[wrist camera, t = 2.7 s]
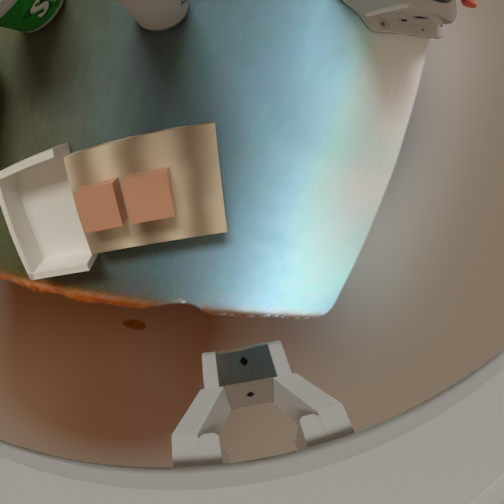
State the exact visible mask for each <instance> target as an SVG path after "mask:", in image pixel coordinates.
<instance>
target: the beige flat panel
mask: <svg viewBox="0 0 504 504" xmlns="http://www.w3.org/2000/svg"><path fill="white" fill-rule="evenodd" d="M63 158H64V163H65V167H66V172H67V176H68V180H69V184H70V188H71V191H72V195H73V193H74V192H75V191H76V190H77V189H78V188H80V187H81V186H84V185H88V184H91V183H95V182H99V181H103V180H107V179H111V178H116V177H118V178H119V182H120V187H121V191H122V195H123V200H124V204H125V208H126V212H127V215H128V218H127V220H126V221H125V223H124V225H123V226H120V227H115V228H110V229H105V230H100V231H95V232H90V233H86V234H85V231H84V228H83V225H82V222H81V219H80V216H79V213H78V216H79V219H80V222H81V225H82V228H83V231H84V234H85V237H86V240H87V243H88V245H89V248H90V251H91V254H96V253H101V252H107V251H112V250H118V249H124V248H130V247H136V246H142V245H148V244H154V243H160V242H166V241H172V240H178V239H185V238H191V237H197V236H204V235H211V234H217V233H224V232H227V225H226V216H225V208H224V200H223V191H222V183H221V174H220V165H219V156H218V146H217V137H216V127H215V123H214V122H208V123H201V124H194V125H187V126H181V127H175V128H169V129H164V130H159V131H154V132H149V133H144V134H140V135H135V136H131V137H127V138H123V139H119V140H115V141H111V142H107V143H103V144H100V145H96V146H93V147H89V148H86V149H83V150H80V151H76V152H73V153H71V154H69V155H67V156H65V157H63ZM164 167H169V170H170V176H171V181H172V187H173V193H174V198H175V204H176V213H175V217H170V218H164V219H159V220H153V221H147V222H142V223H136V224H131V222H130V218H129V214H128V210H127V206H126V202H125V198H124V194H123V190H122V185H121V180H122V179H123V178H124V177H125V176H126V175H129V174H134V173H138V172H143V171H148V170H153V169H158V168H164ZM73 199H74V195H73ZM74 202H75V199H74ZM75 206H76V203H75ZM76 209H77V206H76ZM77 212H78V209H77Z"/></svg>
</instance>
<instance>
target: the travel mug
mask: <svg viewBox="0 0 504 504" xmlns="http://www.w3.org/2000/svg"><path fill="white" fill-rule="evenodd" d="M119 1H120V2H121V3H122V5H123V6H124V7H125V8H126V9H127V10H128V12H129V13H130V14H131V15H132V17H133V18H134V19H135V20H136V21H137V23H138V24H139V25H140V26H141V27H142V28H144V29H146V30H149V31H157V32H158V31H165V30H168V29H171V28H173V27H175V26H176V25H178V24H179V23H180V22H181V21H182V20H183V19H184V18H185V17H186V15H187V13H188V10H189V0H119Z"/></svg>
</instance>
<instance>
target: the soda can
mask: <svg viewBox="0 0 504 504" xmlns="http://www.w3.org/2000/svg"><path fill="white" fill-rule="evenodd" d="M63 1H64V0H0V27H5V28H10V29H14V30H18V31H22V32H29V33H30V32H34V31H37V30H39V29H41V28H42V27H44V26H45V25H46V24H48V23H49V22H50V21H51V20H52V19H53V18H54V17H55V15H56V14H57V13H58V11H59V9H60V8H61V6H62V4H63Z"/></svg>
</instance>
